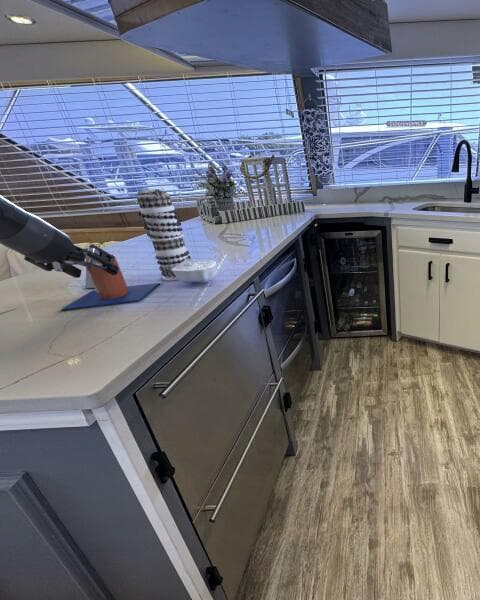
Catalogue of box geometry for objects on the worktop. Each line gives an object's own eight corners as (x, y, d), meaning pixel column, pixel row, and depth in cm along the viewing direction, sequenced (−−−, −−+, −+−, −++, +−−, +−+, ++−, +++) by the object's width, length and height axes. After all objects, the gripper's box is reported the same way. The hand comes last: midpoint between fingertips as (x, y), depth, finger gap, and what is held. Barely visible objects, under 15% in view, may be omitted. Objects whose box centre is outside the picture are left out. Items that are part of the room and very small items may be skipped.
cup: (94, 300, 80) (77, 262, 76) (107, 292, 85) (91, 256, 81) (122, 297, 81) (106, 259, 77) (133, 289, 87) (119, 253, 83)
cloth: (61, 310, 76) (60, 309, 76) (93, 291, 88) (92, 290, 87) (139, 301, 80) (138, 299, 80) (159, 284, 91) (159, 282, 91)
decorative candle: (188, 279, 94) (160, 190, 84) (154, 282, 93) (121, 191, 83) (202, 270, 102) (177, 187, 92) (171, 272, 101) (142, 189, 91)
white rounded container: (200, 290, 85) (193, 265, 83) (168, 286, 89) (160, 263, 86) (230, 277, 94) (224, 255, 91) (199, 274, 98) (193, 253, 95)
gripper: (75, 218, 66) (131, 257, 81) (-2, 223, 65) (70, 261, 80) (65, 250, 63) (125, 284, 78) (-16, 255, 62) (62, 289, 77)
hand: (97, 273), depth 79 cm, fingers open, 8 cm apart
